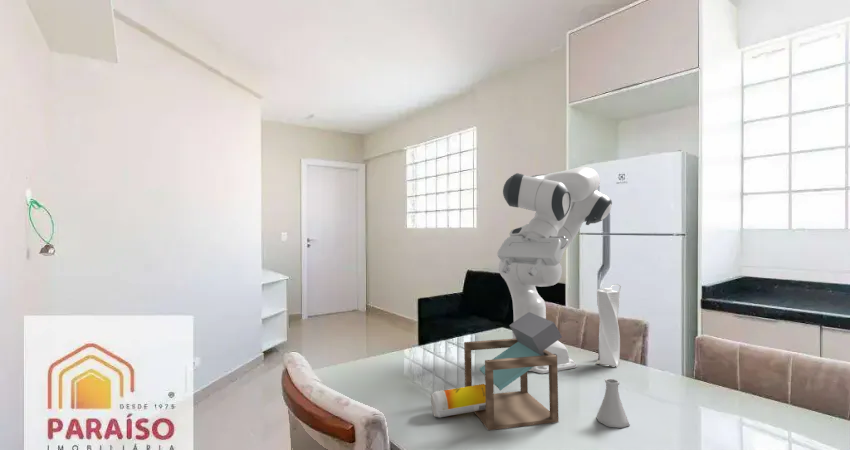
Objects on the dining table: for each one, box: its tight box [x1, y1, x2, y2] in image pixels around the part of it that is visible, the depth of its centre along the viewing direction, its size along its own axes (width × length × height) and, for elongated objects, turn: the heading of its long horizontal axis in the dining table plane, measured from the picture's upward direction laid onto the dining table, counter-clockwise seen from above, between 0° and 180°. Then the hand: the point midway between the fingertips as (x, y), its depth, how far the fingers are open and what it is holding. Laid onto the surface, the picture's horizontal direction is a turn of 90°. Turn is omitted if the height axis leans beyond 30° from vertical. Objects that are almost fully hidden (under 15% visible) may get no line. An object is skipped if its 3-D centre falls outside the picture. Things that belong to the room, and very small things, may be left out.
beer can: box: [430, 383, 486, 418], centre depth 104 cm, size 6×6×15 cm
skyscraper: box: [595, 283, 622, 367], centre depth 142 cm, size 8×8×28 cm
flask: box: [596, 378, 631, 429], centre depth 99 cm, size 7×7×10 cm
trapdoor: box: [479, 312, 563, 391], centre depth 107 cm, size 20×14×6 cm
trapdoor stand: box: [463, 338, 559, 431], centre depth 107 cm, size 18×18×16 cm
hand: (517, 273), depth 112 cm, fingers open, 8 cm apart
